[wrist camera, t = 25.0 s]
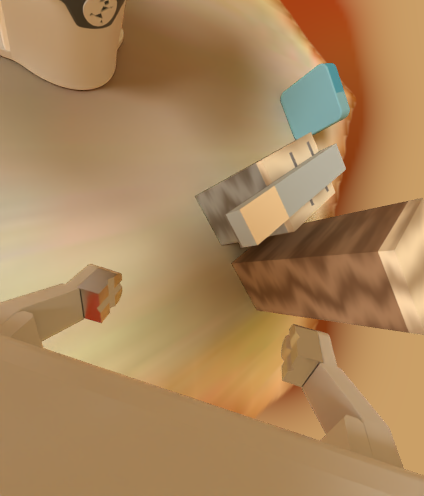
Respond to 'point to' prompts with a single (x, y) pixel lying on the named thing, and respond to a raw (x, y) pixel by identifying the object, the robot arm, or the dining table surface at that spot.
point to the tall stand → (344, 269)
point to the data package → (315, 101)
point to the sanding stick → (283, 197)
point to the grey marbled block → (256, 179)
